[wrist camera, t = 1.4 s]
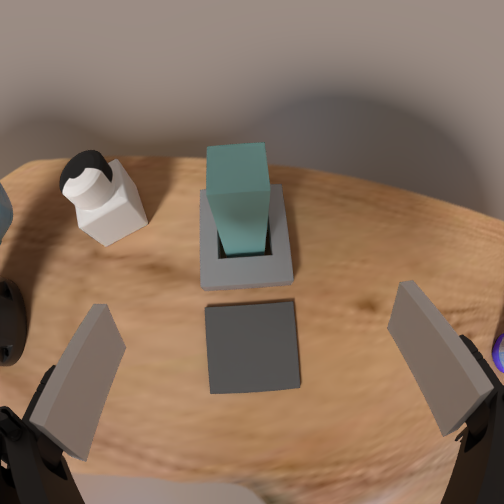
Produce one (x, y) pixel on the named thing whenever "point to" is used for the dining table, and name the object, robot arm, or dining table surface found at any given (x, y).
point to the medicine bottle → (102, 197)
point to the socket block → (246, 268)
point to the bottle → (499, 353)
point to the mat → (252, 348)
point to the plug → (239, 196)
